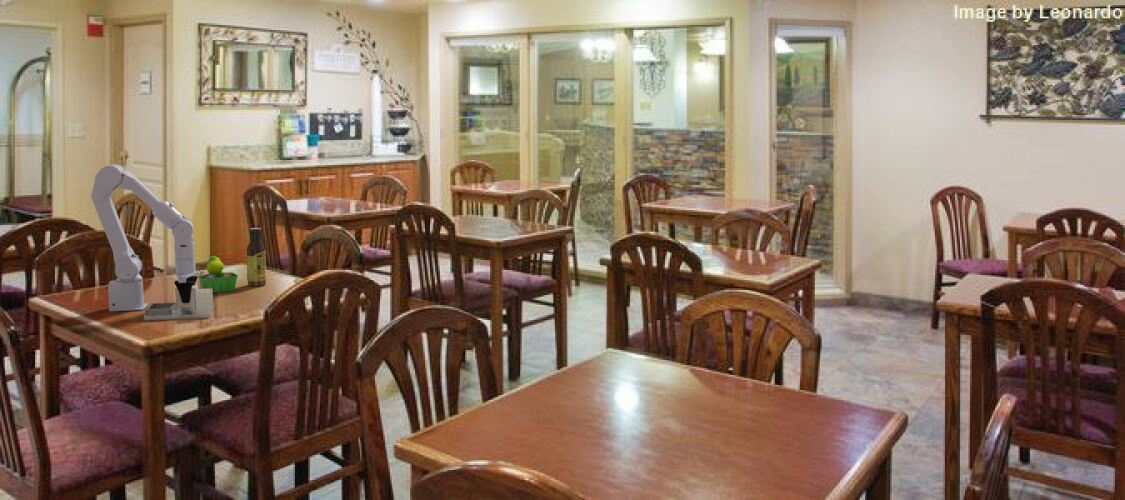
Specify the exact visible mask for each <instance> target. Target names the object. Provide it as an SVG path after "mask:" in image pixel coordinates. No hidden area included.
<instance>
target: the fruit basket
mask: <svg viewBox="0 0 1125 500" xmlns="http://www.w3.org/2000/svg"><path fill="white" fill-rule="evenodd" d="M224 268H225V265H224V263H223V262H222V261H221V259H220V258H219V257H217V256H215V255H212V256H210V257H209V259H208V264H207V265H206V271H207V273H206V274H201V275H200V274H199V275H197V276H198V278H197V279H198V280H199V282H200V284H201V285H200V286H201V289H213V293H218V292H228V291H235V289H236V284H237V279H238V276H239V274H236V273H235V272H231V271H228V272H225V271H223V270H224Z"/></svg>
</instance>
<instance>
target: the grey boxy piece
mask: <svg viewBox="0 0 1125 500" xmlns="http://www.w3.org/2000/svg"><path fill="white" fill-rule="evenodd" d="M213 293H214V292H213V289H203V288H198V290H197V291H196V292H195V294H194V296H195V307H179V308H178V306H177V302H176V301H175V302H153V303H150V304H149V305H148V307H147V308H146V309H145V310H144V312H145V315H143V321H162V320H163V321H164V320H188V319H189V320H190V319H195V320H196V319H210V318H211V317H212V316H213V314H214V312H215V311H216V310H215V306H214V294H213Z"/></svg>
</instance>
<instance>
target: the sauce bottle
mask: <svg viewBox="0 0 1125 500" xmlns="http://www.w3.org/2000/svg"><path fill="white" fill-rule="evenodd" d="M248 231H249V241H250V242H249V243H248V244H247V247H246V277H247V278H246V281H247V285H248V286H249V287H262V286H265V285H266V284H267V260H266V259H267V257H266V255H267V254H266V252H267V251H266V249H265V246H264V244H263V241H262V231H263V230H262V228H261V227H250V228H249V229H248Z"/></svg>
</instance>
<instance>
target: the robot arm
mask: <svg viewBox="0 0 1125 500" xmlns="http://www.w3.org/2000/svg"><path fill="white" fill-rule="evenodd" d="M118 187H119V188H118ZM117 188H118V189H122V190H129V191H131V192H132V193H133V194H135V195H136V196H137V197H138V198H139V199H141V200H142V201H143V202H144V203H145V204H146V205H148V206H149V207H150V208H151V210H152V211H151V212H152V215H153V217H155V218H156V219H157V220H158V221H160V223H161V224H163V226H165V228H167V229H170V230H171V233H172V235H173V237H174V244H173V247H174V263H175V273H174V275H175V276H176V278H177V280H174V283H173V284H174V286H175V288H176V287H177V289H178V291H179V294H180V297H181V301H182V303H190V299H191V290H192V286H193V285H196V282H197V280H198V279H199V278H198V276H199V275H200V274H201V272H200V271H199V270H197V269H196V254H195V253H196V251H195V242H194V240H195V239H194V235H193V233H194V230H195V226H194V223H193V222H192V220H191V219H189V218H186V217H187V216H186V215H185V214H182V213H180V212H179V211H178V210H177V209H176V208H175V207H174V206H175V204H174V203H173V202H168V201H167V200H160V199H159V198H158V197H157V196H156V195H155V194H154V193H153V192H152V191H151V190H150V189H149V188H147V186H145V184H144V183H143V182H142V181H141V180H139V179H138V177H137V176H135V175H134V174H133V173H132V172H130V171H129V170H126V169H125V167H124V166H123V165H121V164H119V163H111V164H108V165H105V166H103V167H102V168H100V170H99V171H98V172H97V173H96V175H95V176H94V182H93V188H92V191H91V194H90V195H91V200H92V202H93V206H94V208H95V210H96V213H97V215H98V219H99V220H100V222H101V225H102V228H103V230H104V233H105V235H106V238H107V240H108V243H109V245H110V248H111V250H112V254H113V262H114V265H115V267H114V273H115V276H116V278H115V280H110V281H109V282H108V286H107V287H108V289H107V290H108V291H107V292H108V293H107V294H108V305H109V306H108V311H109V312H123V311H124V312H125V311H130V312H131V311H143V310H144V309H145V308H146V307H147V306H149V304H148V302H145V296H144V284H143V283H144V282H143V281H144V280H143V276H141V274H140V272H141V271H142V270H143V263H142V260H141V259H140V258H139V257H138V256H137V255H136V254H135V251H134V249H133V248H132V247H131V245H130V243H129V240H128V238H127V235H126V233H125V230H124V228H123V225H122V222H121V220H120V218H119V216H118V212H117V209H116V208H115V205H114V202H113V200H112V197H113V194H114V193H115V191H116V189H117Z"/></svg>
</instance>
